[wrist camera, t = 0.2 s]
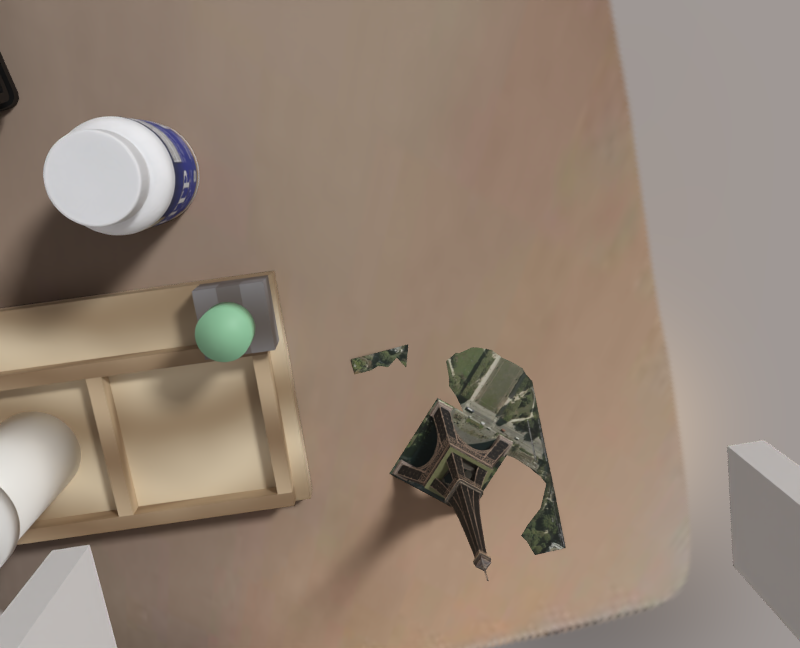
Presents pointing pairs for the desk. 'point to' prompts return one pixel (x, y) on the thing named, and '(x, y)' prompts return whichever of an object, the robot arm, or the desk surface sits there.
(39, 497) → the seated billet
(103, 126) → the pill bottle
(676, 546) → the desk surface
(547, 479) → the eiffel tower figurine
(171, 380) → the wooden compartment tray
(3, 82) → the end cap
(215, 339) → the button
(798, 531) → the robot arm
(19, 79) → the desk surface
